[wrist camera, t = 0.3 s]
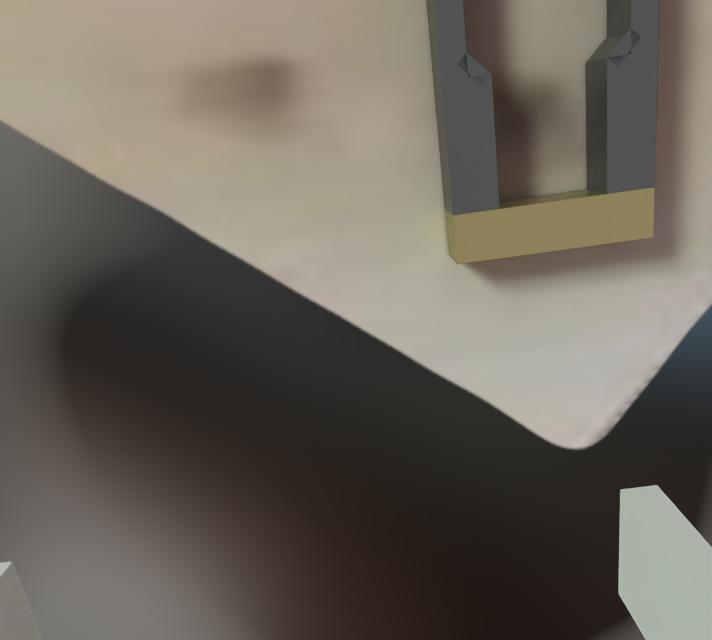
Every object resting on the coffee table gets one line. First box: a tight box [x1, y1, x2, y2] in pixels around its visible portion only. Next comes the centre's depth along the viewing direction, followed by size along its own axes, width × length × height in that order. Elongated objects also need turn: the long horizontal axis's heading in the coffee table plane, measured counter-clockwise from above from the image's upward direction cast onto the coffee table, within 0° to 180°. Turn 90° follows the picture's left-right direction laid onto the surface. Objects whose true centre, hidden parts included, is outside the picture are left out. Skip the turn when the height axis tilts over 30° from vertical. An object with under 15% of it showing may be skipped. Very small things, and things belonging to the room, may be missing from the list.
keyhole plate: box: [426, 0, 659, 264], centre depth 33 cm, size 20×12×3 cm, turn 8°
